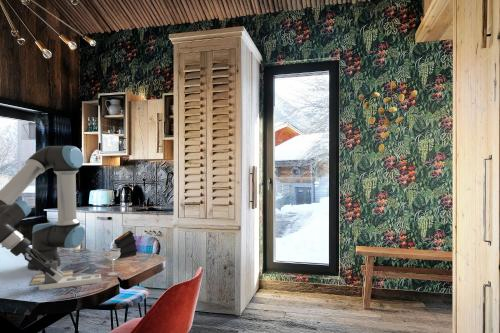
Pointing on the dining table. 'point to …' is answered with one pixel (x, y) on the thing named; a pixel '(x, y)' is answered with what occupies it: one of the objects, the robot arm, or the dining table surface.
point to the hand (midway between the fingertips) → (60, 277)
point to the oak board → (41, 277)
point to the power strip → (72, 281)
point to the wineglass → (113, 257)
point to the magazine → (126, 244)
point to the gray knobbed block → (48, 278)
